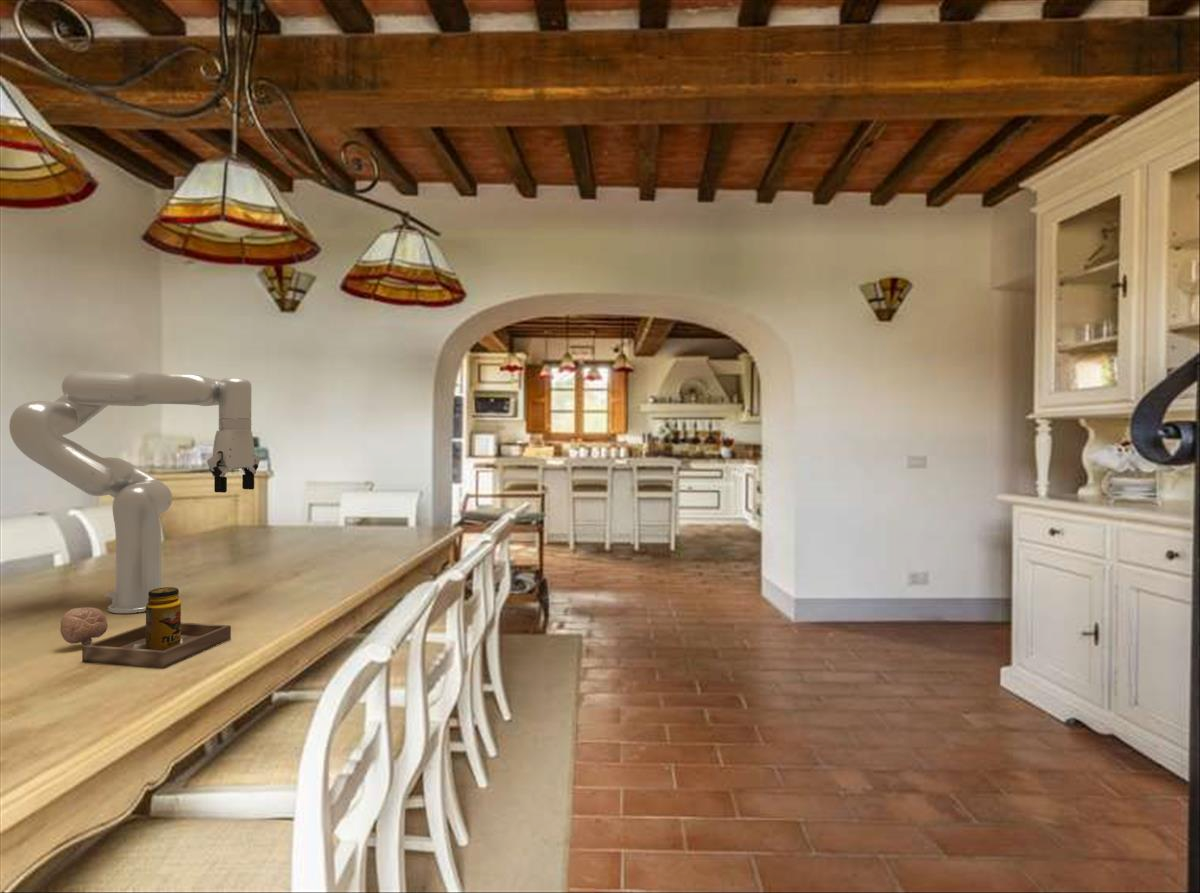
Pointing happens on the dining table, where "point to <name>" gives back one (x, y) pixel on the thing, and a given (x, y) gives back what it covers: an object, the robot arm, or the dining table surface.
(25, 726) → the dining table surface
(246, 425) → the robot arm
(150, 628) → the condiment
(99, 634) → the mushroom
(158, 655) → the tray
